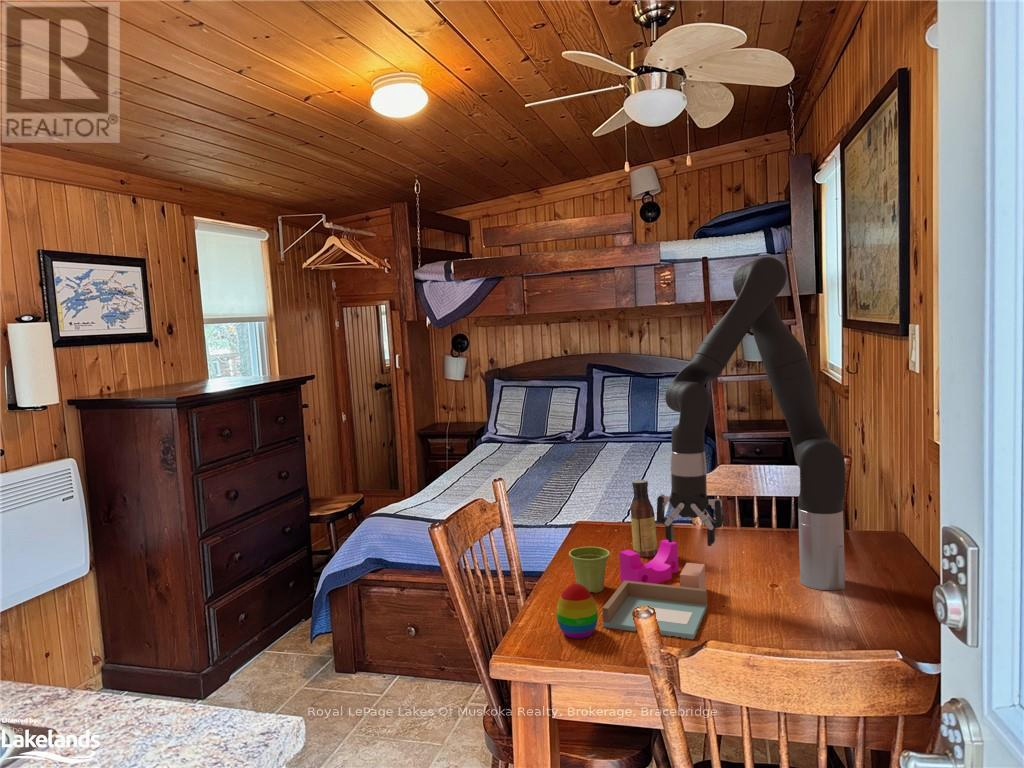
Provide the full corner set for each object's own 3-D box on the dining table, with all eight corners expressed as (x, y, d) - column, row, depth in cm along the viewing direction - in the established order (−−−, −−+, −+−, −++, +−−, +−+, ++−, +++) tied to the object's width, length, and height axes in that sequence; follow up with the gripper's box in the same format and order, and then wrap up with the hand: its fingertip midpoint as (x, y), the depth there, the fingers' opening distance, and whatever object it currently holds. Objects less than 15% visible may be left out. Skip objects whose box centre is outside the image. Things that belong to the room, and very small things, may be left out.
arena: (707, 607, 144) (706, 589, 144) (693, 639, 130) (692, 619, 130) (624, 597, 152) (624, 580, 152) (603, 627, 138) (602, 607, 137)
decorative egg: (591, 644, 130) (589, 593, 130) (551, 639, 134) (549, 589, 133) (603, 626, 138) (601, 578, 137) (565, 622, 141) (563, 575, 140)
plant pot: (587, 578, 165) (586, 543, 165) (619, 587, 159) (617, 551, 158) (562, 590, 159) (560, 553, 158) (594, 599, 152) (592, 562, 151)
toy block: (638, 590, 157) (637, 558, 156) (620, 582, 162) (619, 552, 161) (685, 575, 164) (684, 545, 164) (667, 568, 170) (666, 539, 169)
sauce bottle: (660, 552, 181) (657, 479, 180) (652, 559, 176) (649, 484, 175) (637, 549, 185) (634, 477, 183) (628, 556, 180) (625, 482, 178)
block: (705, 590, 154) (704, 564, 154) (699, 603, 147) (698, 576, 147) (687, 588, 156) (686, 562, 156) (680, 601, 149) (679, 574, 148)
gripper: (724, 469, 150) (725, 541, 151) (660, 466, 156) (662, 535, 158) (719, 476, 143) (720, 551, 145) (652, 473, 150) (654, 545, 151)
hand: (690, 543), depth 151 cm, fingers open, 8 cm apart
